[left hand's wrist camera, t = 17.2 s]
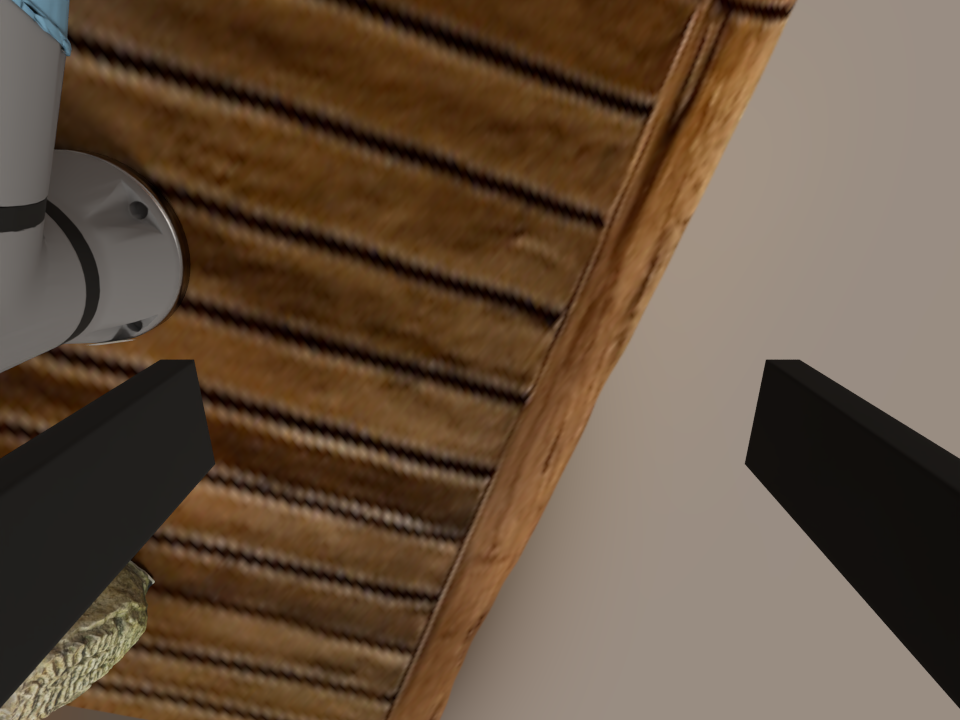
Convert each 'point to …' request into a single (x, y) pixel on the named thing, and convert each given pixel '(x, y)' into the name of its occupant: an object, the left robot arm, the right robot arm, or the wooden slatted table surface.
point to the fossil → (85, 648)
